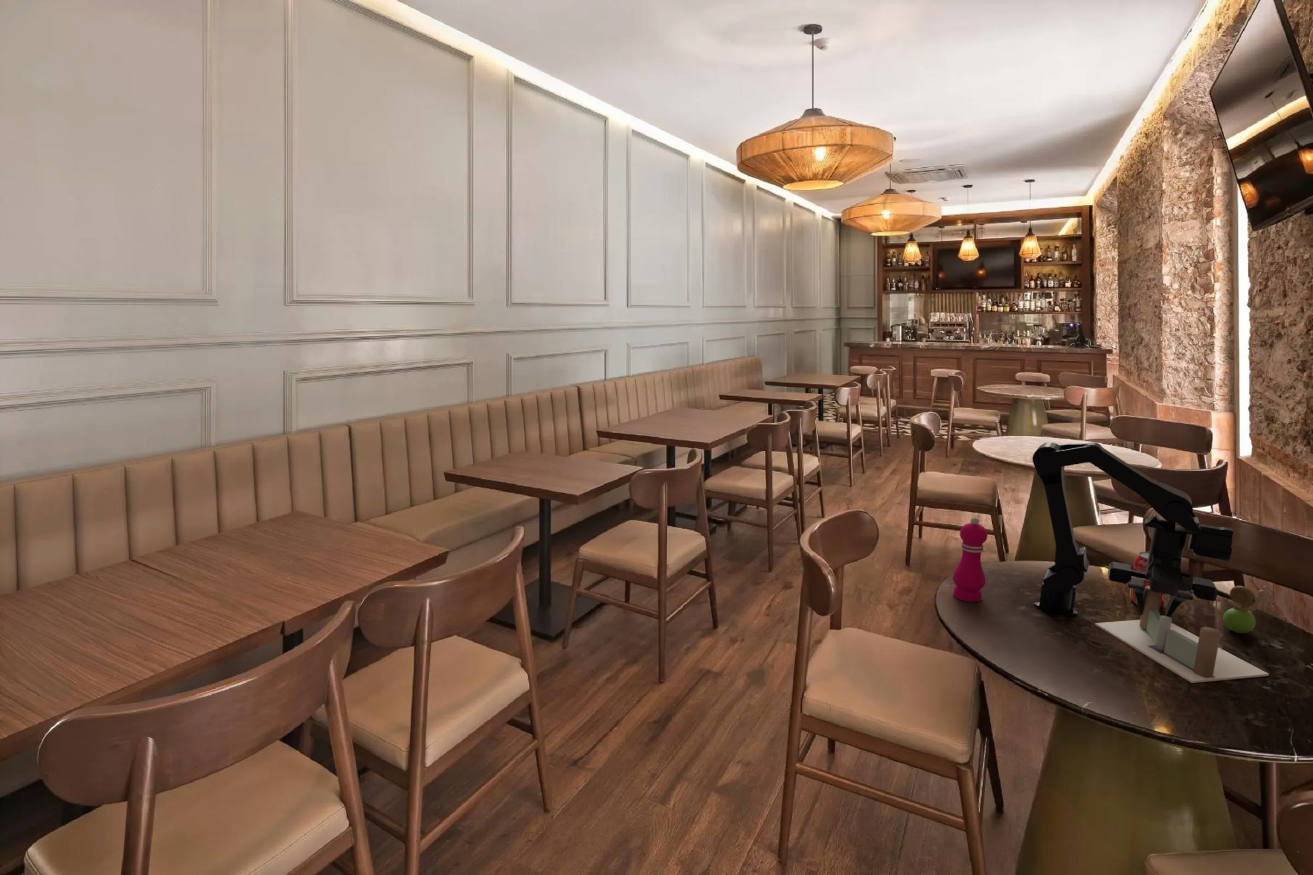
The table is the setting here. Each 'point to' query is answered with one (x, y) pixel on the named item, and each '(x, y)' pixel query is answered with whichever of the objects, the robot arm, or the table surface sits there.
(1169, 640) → the fence fixed
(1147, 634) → the card
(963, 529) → the pepper mill
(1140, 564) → the soda can
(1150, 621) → the fence gate
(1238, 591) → the snail figurine
